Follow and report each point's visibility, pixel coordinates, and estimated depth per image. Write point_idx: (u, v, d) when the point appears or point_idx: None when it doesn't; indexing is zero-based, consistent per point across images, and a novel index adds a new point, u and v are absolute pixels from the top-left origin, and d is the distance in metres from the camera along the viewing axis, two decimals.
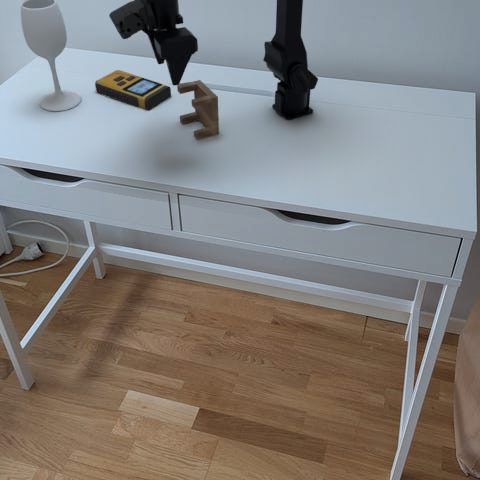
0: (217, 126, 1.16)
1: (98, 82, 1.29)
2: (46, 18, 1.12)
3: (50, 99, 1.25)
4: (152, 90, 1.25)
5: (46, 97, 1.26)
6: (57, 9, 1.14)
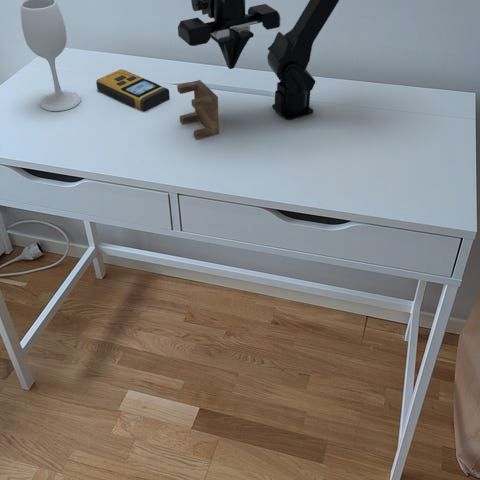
0: (217, 126, 1.16)
1: (99, 80, 1.29)
2: (46, 18, 1.12)
3: (50, 99, 1.25)
4: (150, 92, 1.25)
5: (46, 97, 1.26)
6: (57, 9, 1.14)
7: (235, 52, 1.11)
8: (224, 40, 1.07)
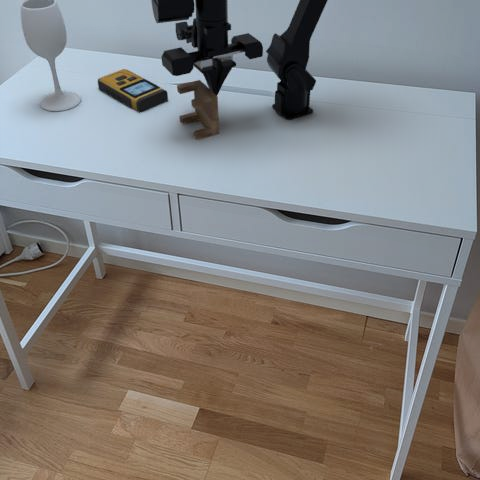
0: (217, 126, 1.16)
1: (100, 79, 1.30)
2: (46, 18, 1.12)
3: (50, 99, 1.25)
4: (147, 93, 1.24)
5: (46, 97, 1.26)
6: (57, 9, 1.14)
7: (218, 81, 1.13)
8: (207, 70, 1.09)
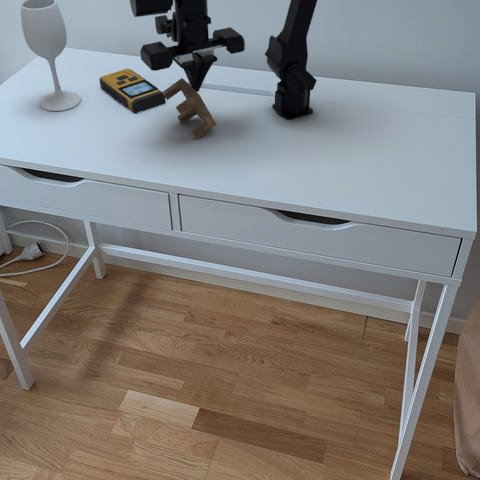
0: (212, 119, 1.14)
1: (102, 78, 1.30)
2: (46, 18, 1.12)
3: (50, 99, 1.25)
4: (144, 94, 1.24)
5: (46, 97, 1.26)
6: (57, 9, 1.14)
7: (199, 76, 1.10)
8: (187, 64, 1.06)
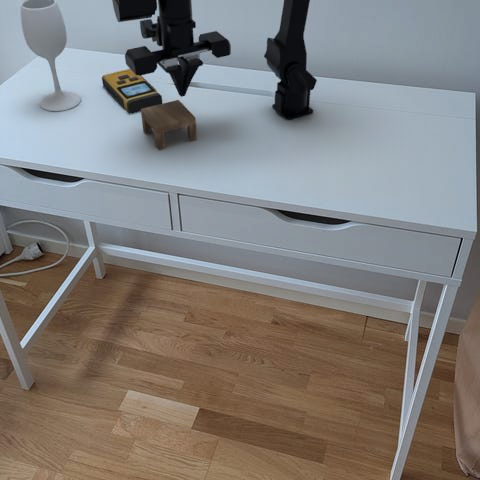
0: (187, 120, 1.11)
1: (104, 76, 1.31)
2: (46, 18, 1.12)
3: (50, 99, 1.25)
4: (140, 95, 1.23)
5: (46, 97, 1.26)
6: (57, 9, 1.14)
7: (185, 80, 1.09)
8: (172, 69, 1.05)
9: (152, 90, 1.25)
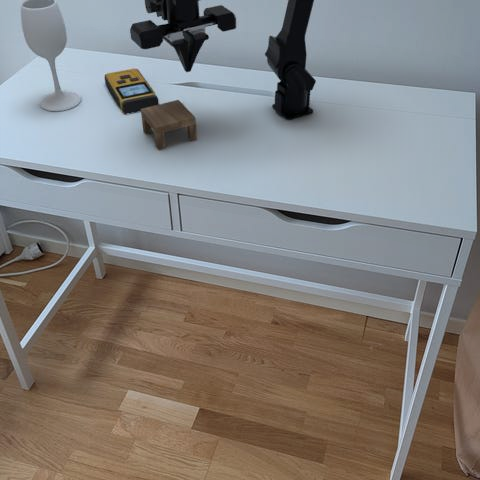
0: (187, 120, 1.11)
1: (106, 75, 1.31)
2: (46, 18, 1.12)
3: (50, 99, 1.25)
4: (136, 96, 1.23)
5: (46, 97, 1.26)
6: (57, 9, 1.14)
7: (191, 55, 1.08)
8: (178, 43, 1.04)
9: (149, 92, 1.25)
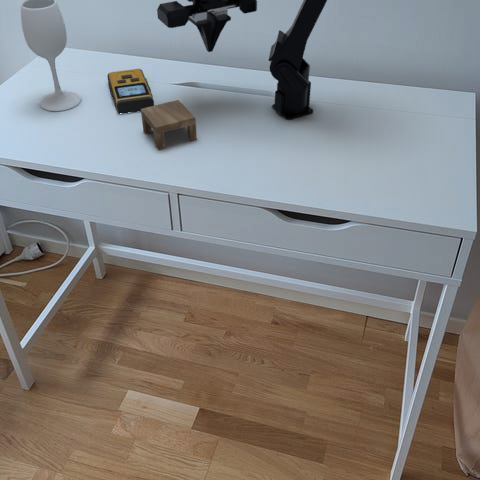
0: (187, 120, 1.11)
1: (109, 74, 1.32)
2: (46, 18, 1.12)
3: (50, 99, 1.25)
4: (132, 97, 1.23)
5: (46, 97, 1.26)
6: (57, 9, 1.14)
7: (213, 35, 1.14)
8: (202, 23, 1.10)
9: (146, 93, 1.24)
